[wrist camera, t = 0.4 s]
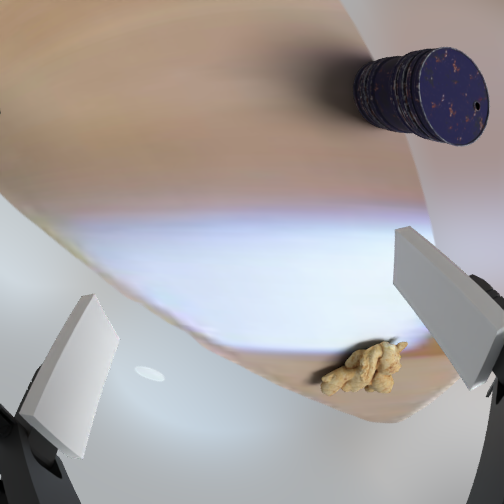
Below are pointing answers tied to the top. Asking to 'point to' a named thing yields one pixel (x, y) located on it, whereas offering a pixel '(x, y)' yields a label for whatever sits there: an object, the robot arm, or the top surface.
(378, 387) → the ginger root
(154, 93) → the top surface
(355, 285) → the top surface
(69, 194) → the top surface
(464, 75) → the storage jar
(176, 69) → the top surface
